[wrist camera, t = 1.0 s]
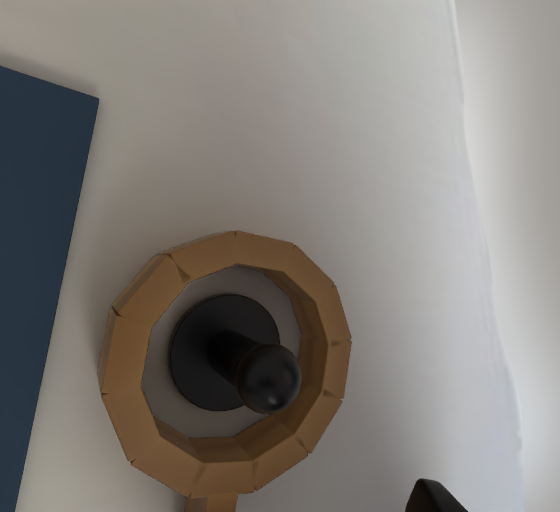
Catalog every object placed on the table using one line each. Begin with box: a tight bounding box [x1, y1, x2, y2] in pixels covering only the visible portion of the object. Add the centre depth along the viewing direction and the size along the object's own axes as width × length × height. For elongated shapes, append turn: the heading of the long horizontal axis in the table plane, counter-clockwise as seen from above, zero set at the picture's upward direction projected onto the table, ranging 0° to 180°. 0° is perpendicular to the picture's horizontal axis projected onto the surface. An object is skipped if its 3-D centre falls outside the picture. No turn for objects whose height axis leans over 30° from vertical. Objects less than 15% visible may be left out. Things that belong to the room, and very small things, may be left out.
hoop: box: [97, 231, 352, 512], centre depth 21 cm, size 17×13×3 cm
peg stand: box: [168, 294, 302, 414], centre depth 20 cm, size 6×6×7 cm
